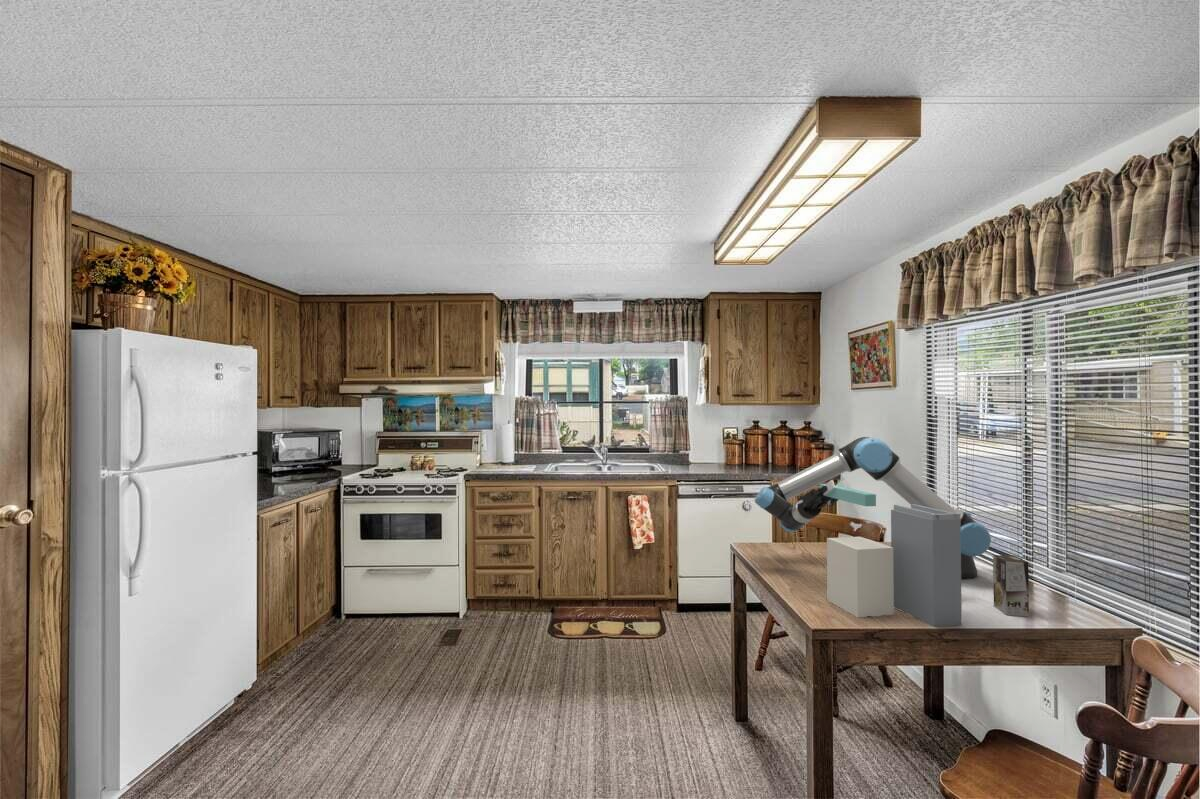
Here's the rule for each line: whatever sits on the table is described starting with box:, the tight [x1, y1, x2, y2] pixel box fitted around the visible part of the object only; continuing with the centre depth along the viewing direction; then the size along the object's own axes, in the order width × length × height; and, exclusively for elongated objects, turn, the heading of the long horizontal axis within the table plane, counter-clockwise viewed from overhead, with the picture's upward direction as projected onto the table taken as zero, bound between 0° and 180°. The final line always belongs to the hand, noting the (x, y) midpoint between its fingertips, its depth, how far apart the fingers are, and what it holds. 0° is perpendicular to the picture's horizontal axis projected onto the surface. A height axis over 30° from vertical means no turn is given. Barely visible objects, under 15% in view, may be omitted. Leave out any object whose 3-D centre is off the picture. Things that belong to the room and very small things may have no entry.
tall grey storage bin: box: [890, 504, 963, 628], centre depth 182 cm, size 9×18×32 cm, turn 11°
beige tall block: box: [826, 536, 895, 618], centre depth 189 cm, size 12×16×20 cm
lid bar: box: [818, 483, 877, 507], centre depth 195 cm, size 4×26×4 cm, turn 11°
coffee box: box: [992, 554, 1030, 617], centre depth 185 cm, size 9×6×16 cm
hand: (839, 483), depth 199 cm, fingers closed on lid bar, 3 cm apart
